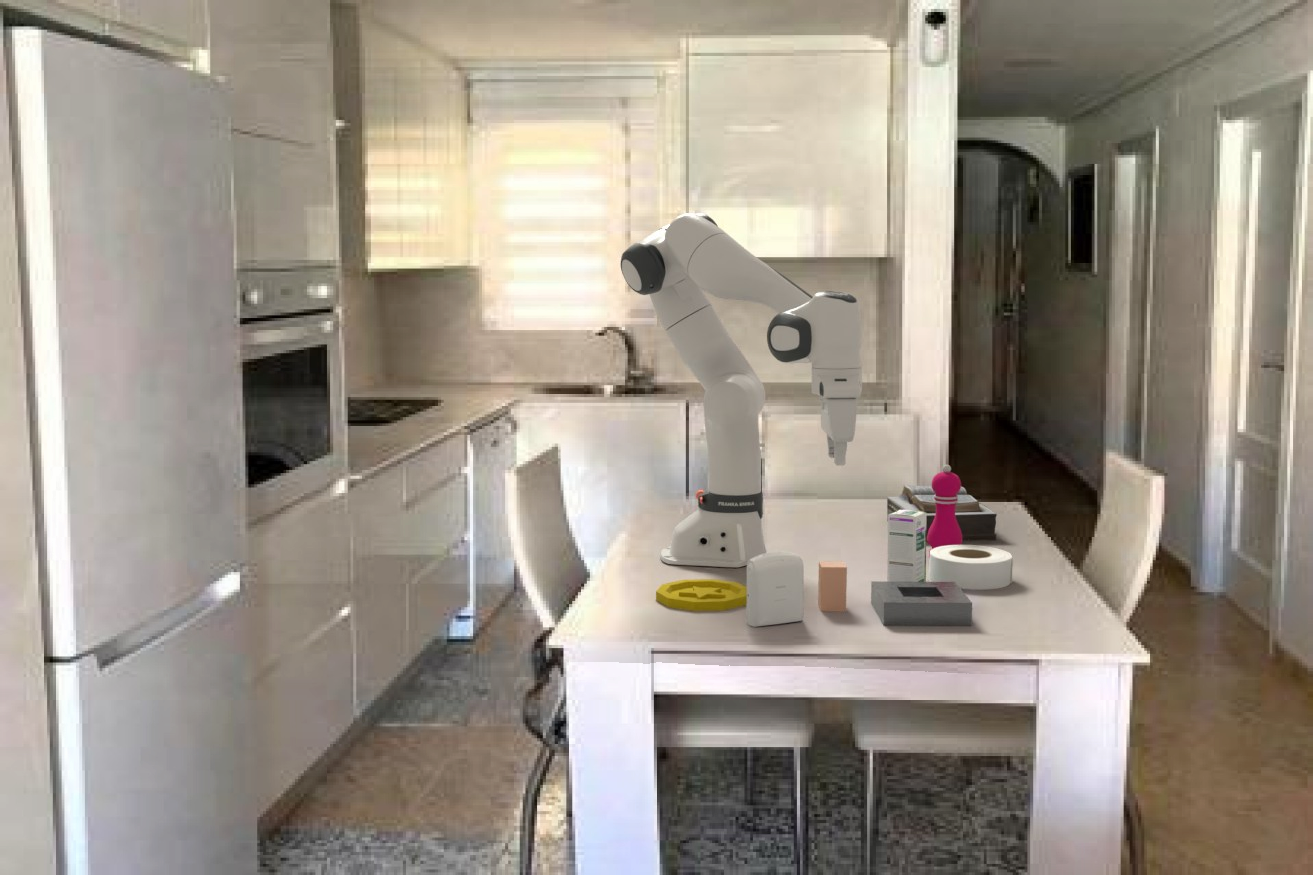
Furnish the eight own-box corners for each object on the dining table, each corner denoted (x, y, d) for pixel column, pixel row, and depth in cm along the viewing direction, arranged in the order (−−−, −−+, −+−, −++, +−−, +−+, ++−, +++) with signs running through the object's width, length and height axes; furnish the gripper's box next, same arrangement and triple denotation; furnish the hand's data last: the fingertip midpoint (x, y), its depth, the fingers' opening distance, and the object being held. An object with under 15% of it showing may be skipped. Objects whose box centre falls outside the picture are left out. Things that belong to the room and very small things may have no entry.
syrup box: (915, 591, 250) (917, 516, 248) (885, 587, 253) (887, 512, 251) (926, 585, 255) (928, 511, 253) (897, 581, 258) (898, 508, 256)
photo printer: (753, 628, 225) (754, 557, 223) (742, 622, 229) (743, 552, 227) (807, 622, 229) (808, 552, 227) (795, 616, 232) (796, 547, 231)
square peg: (820, 611, 236) (821, 567, 235) (818, 604, 241) (818, 561, 239) (846, 611, 236) (846, 567, 235) (842, 604, 240) (843, 561, 239)
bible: (983, 521, 320) (984, 481, 318) (999, 545, 293) (1000, 501, 292) (885, 519, 322) (886, 479, 321) (892, 542, 296) (893, 499, 294)
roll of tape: (1014, 592, 250) (1015, 563, 250) (929, 588, 253) (930, 559, 253) (1008, 573, 266) (1009, 546, 265) (928, 569, 269) (929, 542, 268)
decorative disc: (684, 585, 256) (684, 575, 256) (766, 597, 247) (766, 586, 247) (639, 604, 242) (639, 593, 242) (724, 617, 233) (724, 606, 233)
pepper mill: (962, 563, 273) (965, 467, 271) (926, 562, 275) (929, 466, 272) (961, 556, 280) (964, 462, 278) (926, 554, 282) (929, 461, 279)
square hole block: (883, 625, 227) (884, 602, 226) (870, 602, 242) (871, 581, 241) (971, 625, 226) (972, 602, 226) (953, 603, 241) (954, 581, 241)
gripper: (812, 379, 245) (813, 453, 247) (825, 389, 224) (825, 469, 226) (847, 378, 245) (847, 452, 246) (862, 388, 224) (862, 469, 226)
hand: (836, 461), depth 236 cm, fingers open, 8 cm apart
